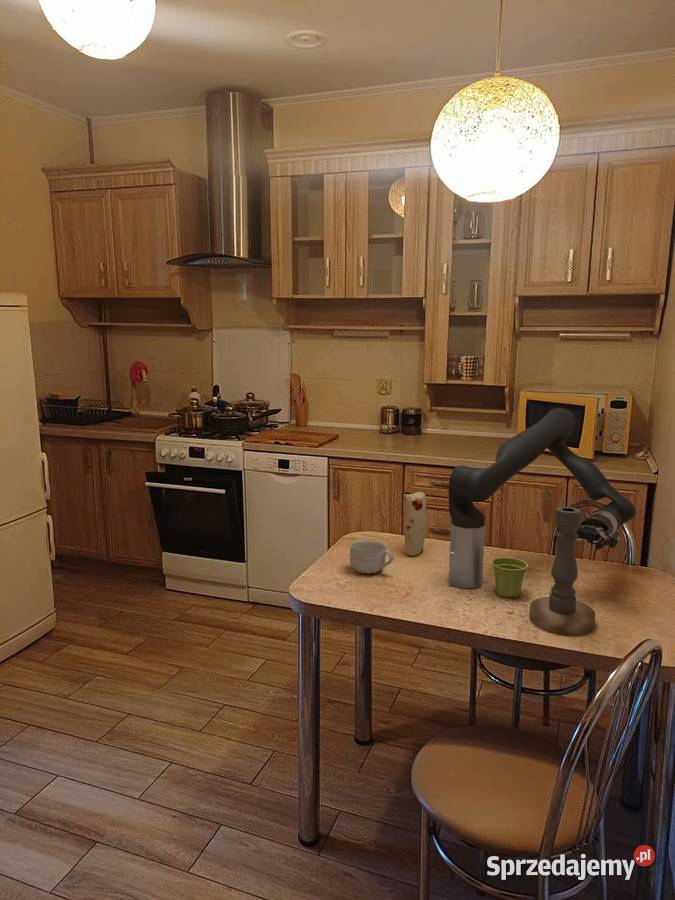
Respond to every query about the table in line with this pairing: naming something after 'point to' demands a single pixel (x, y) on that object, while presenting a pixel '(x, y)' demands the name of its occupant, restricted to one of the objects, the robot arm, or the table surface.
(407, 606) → the table surface
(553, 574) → the candle holder
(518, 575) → the plant pot
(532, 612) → the walnut plinth
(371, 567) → the teacup
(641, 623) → the table surface
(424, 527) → the food model
